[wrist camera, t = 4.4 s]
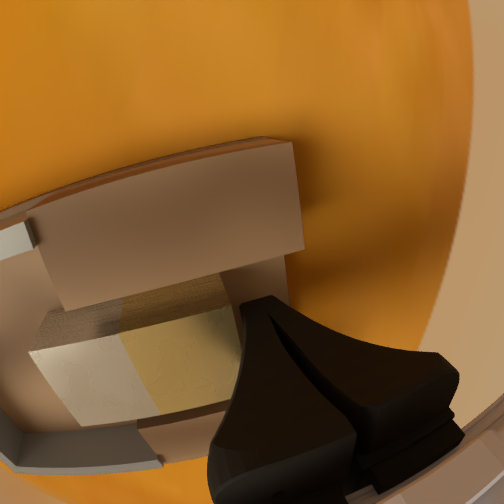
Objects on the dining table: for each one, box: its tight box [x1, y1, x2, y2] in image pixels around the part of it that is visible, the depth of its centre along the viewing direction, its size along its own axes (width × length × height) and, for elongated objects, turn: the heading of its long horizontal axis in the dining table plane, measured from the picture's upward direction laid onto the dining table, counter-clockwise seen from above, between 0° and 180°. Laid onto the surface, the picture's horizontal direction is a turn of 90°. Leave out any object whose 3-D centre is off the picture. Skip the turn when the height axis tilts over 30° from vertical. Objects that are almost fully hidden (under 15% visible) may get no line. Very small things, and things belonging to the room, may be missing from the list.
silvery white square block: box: [28, 297, 161, 426], centre depth 10 cm, size 4×4×2 cm
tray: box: [0, 209, 164, 475], centre depth 9 cm, size 12×10×2 cm
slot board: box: [0, 136, 305, 464], centre depth 11 cm, size 12×17×3 cm
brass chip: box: [118, 273, 242, 415], centre depth 11 cm, size 4×4×2 cm
